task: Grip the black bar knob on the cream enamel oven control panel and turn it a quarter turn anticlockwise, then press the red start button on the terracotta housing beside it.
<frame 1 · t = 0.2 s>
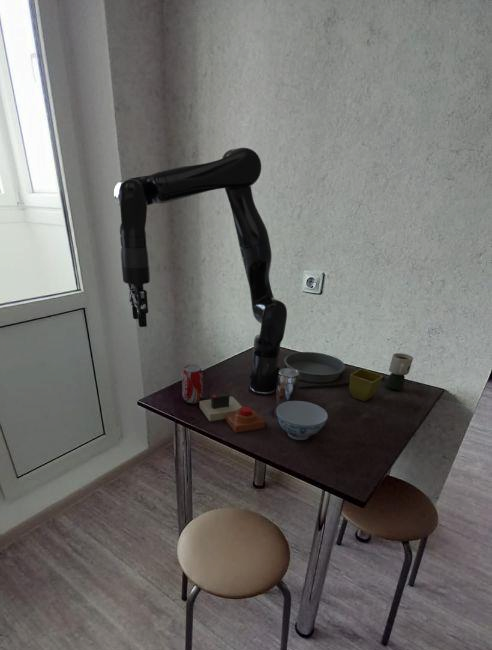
hand: (139, 322, 120), 29 cm above the table, tool pointing down, fingers open, 8 cm apart
oven dial: (220, 400, 130), point 5 cm above the table, hinge at 0.0°
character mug: (393, 388, 156), on the table
chinaware: (298, 434, 123), on the table
flower pot: (361, 398, 147), on the table
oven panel: (221, 411, 134), on the table
start button: (245, 411, 125), point 4 cm above the table, slide at 0.1 cm
cake pan: (312, 372, 166), on the table
soda can: (192, 400, 140), on the table
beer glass: (283, 414, 134), on the table
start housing: (244, 424, 127), on the table
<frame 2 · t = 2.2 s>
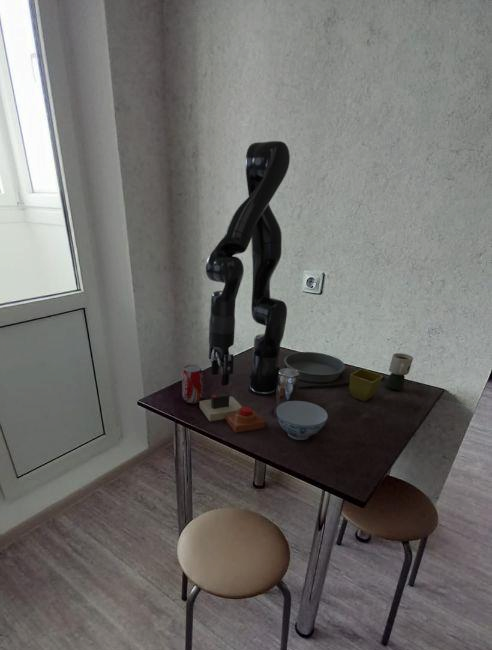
hand: (219, 379, 127), 12 cm above the table, tool pointing down, fingers open, 8 cm apart
nothing on the table moved.
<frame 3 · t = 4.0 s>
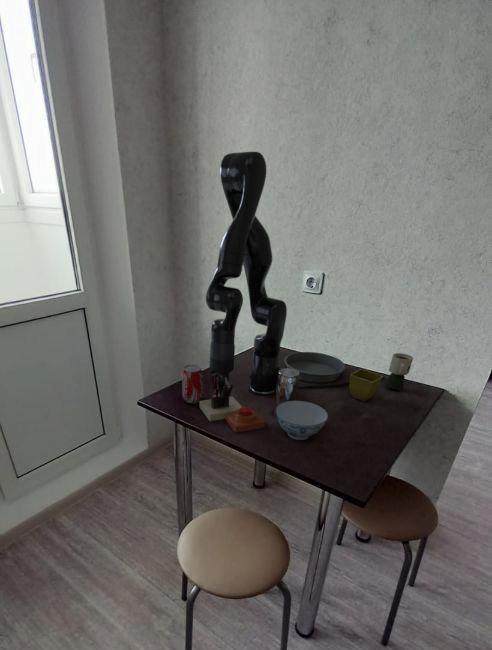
hand: (220, 405, 131), 3 cm above the table, tool pointing down, fingers closed on oven dial, 2 cm apart
oven dial: (220, 400, 130), point 5 cm above the table, hinge at 0.0°, touching gripper
everything else where it was.
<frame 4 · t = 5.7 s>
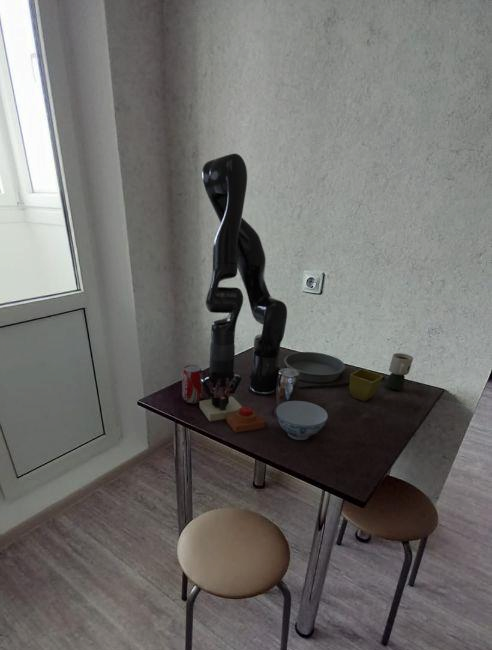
hand: (219, 405, 131), 3 cm above the table, tool pointing down, fingers closed
oven dial: (220, 400, 130), point 5 cm above the table, hinge at 89.9°
everything else where it was.
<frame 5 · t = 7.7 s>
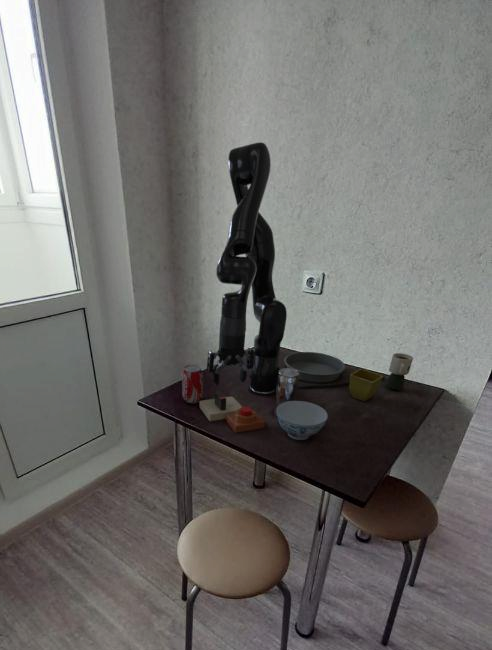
hand: (229, 382, 124), 12 cm above the table, tool pointing down, fingers open, 8 cm apart
nothing on the table moved.
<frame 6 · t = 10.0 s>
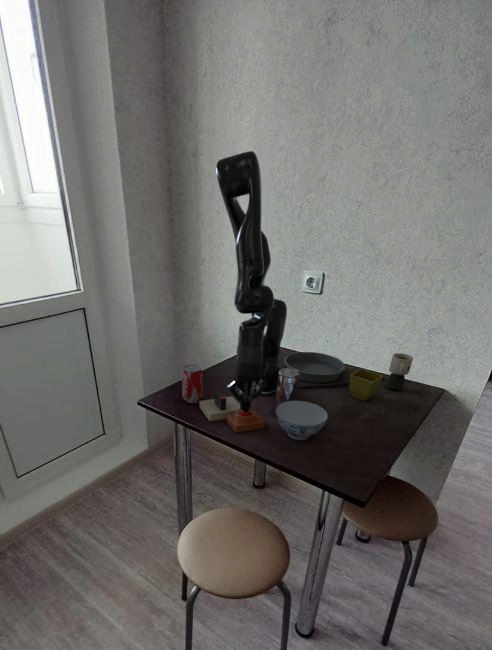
hand: (244, 410, 125), 5 cm above the table, tool pointing down, fingers closed
start button: (245, 413, 125), point 4 cm above the table, slide at -0.6 cm, touching gripper
everything else where it was.
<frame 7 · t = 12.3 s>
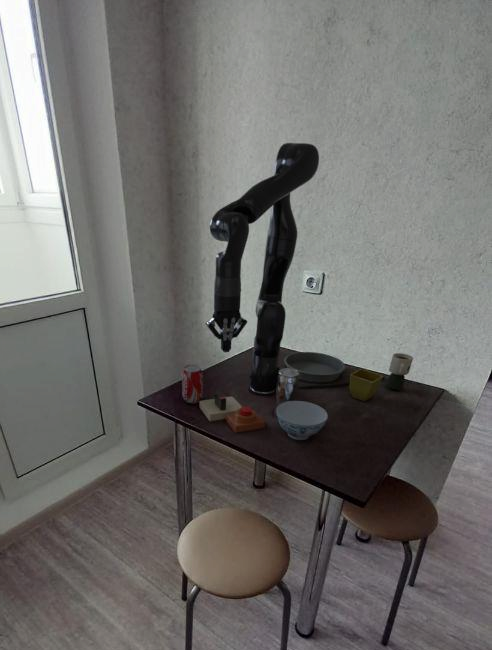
hand: (225, 351, 122), 21 cm above the table, tool pointing down, fingers closed
start button: (245, 411, 125), point 4 cm above the table, slide at 0.1 cm
everything else where it was.
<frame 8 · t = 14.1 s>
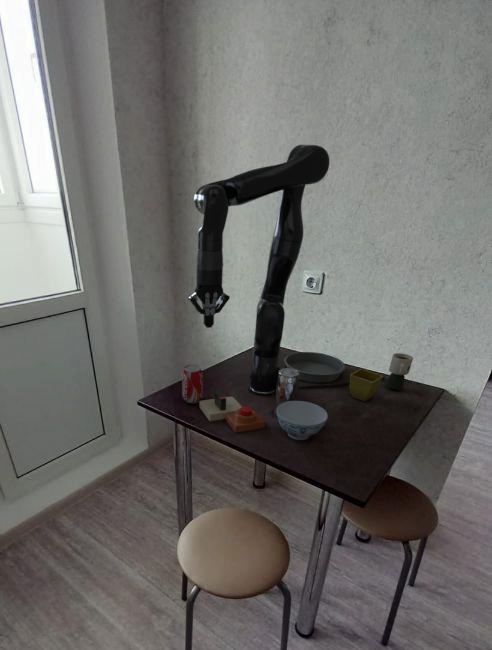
hand: (208, 326, 124), 27 cm above the table, tool pointing down, fingers closed
nothing on the table moved.
at the end: oven dial at +90° (first picture: +0°); start button pushed in 1.1 cm at the most during the clip, back to where it started at the end; start button slide at 0.1 cm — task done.
